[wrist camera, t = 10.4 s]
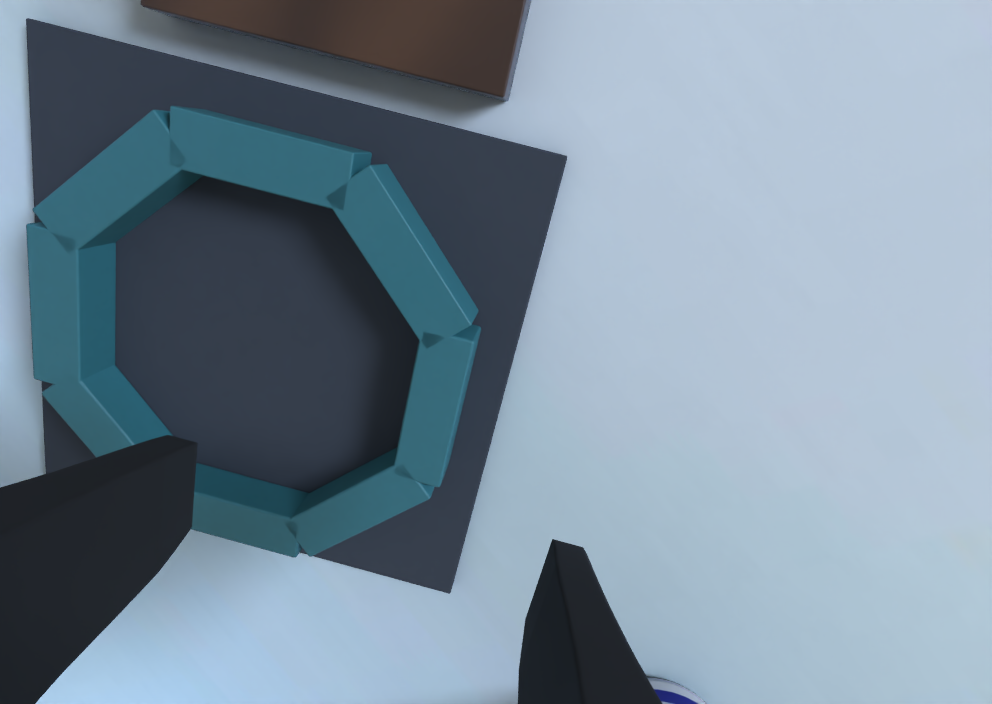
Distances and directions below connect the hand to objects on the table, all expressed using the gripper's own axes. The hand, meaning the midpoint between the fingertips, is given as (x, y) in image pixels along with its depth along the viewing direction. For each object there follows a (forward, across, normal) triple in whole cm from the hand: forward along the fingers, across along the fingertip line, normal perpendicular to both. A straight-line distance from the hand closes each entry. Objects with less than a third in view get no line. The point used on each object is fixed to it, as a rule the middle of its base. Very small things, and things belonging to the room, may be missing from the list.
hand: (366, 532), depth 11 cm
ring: (+7, +6, 0) cm, 9 cm away
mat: (+8, +6, 0) cm, 10 cm away
